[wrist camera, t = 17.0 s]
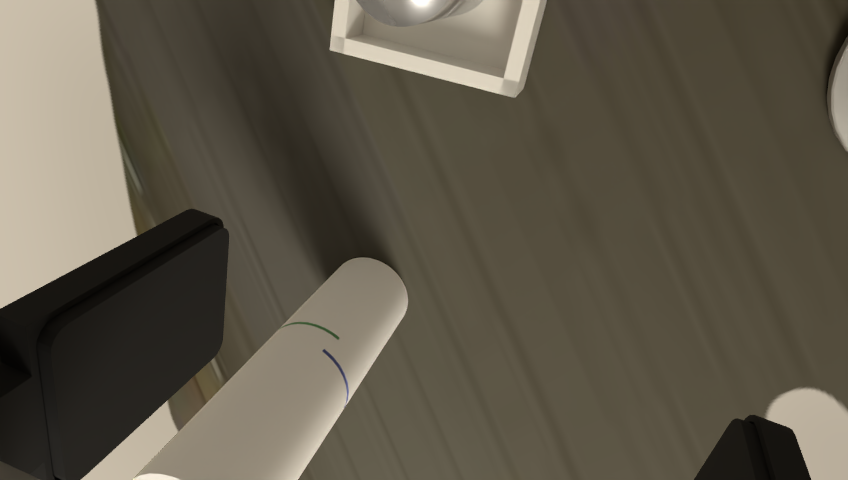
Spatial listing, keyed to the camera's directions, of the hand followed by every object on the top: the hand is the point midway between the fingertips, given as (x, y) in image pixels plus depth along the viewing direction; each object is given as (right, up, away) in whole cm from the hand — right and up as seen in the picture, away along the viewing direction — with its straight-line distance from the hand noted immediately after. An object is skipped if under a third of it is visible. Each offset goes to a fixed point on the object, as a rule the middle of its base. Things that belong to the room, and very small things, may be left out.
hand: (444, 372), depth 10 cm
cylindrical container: (-5, -2, +41) cm, 41 cm away
